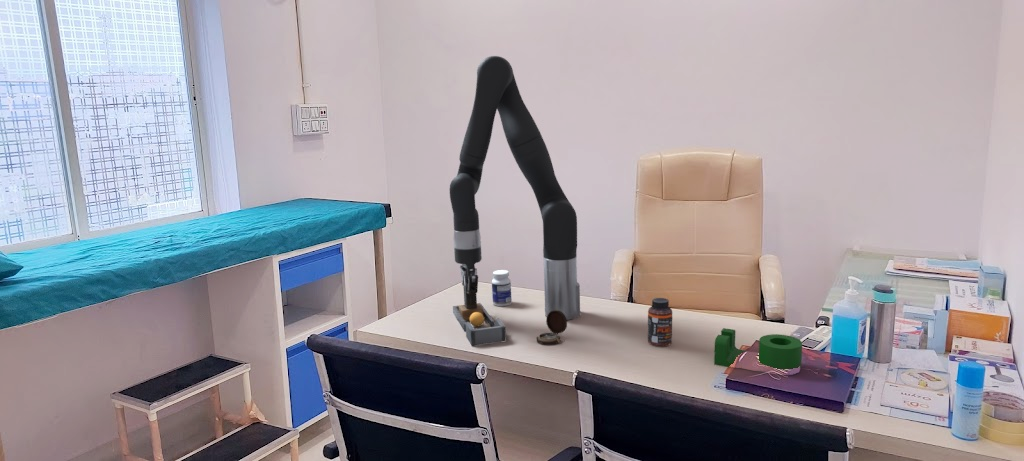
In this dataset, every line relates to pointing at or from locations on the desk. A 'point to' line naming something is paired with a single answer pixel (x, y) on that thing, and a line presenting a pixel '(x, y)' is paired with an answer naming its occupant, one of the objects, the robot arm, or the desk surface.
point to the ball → (476, 319)
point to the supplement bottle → (660, 323)
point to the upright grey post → (467, 310)
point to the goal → (486, 334)
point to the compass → (553, 328)
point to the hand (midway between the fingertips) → (470, 303)
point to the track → (462, 321)
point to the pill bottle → (501, 288)
